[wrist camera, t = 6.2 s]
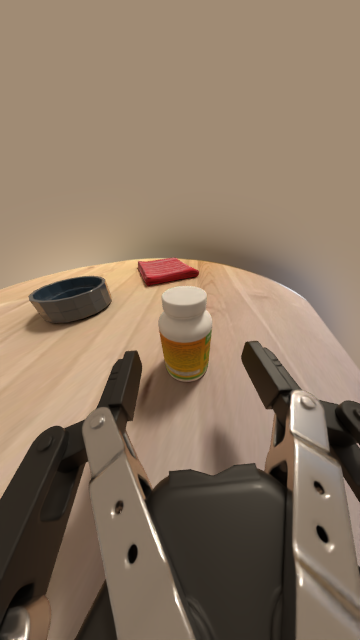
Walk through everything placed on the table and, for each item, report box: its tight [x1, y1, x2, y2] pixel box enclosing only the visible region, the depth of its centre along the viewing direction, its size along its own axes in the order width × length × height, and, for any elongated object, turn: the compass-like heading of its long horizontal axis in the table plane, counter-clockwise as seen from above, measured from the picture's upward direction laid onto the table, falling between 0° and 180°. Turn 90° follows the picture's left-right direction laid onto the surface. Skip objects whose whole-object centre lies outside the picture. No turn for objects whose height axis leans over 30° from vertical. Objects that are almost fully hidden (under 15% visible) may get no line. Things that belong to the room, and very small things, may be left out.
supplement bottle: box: [159, 286, 212, 382], centre depth 15 cm, size 5×5×10 cm
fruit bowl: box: [28, 276, 112, 323], centre depth 30 cm, size 13×13×5 cm
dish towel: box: [138, 258, 199, 286], centre depth 50 cm, size 17×24×3 cm
